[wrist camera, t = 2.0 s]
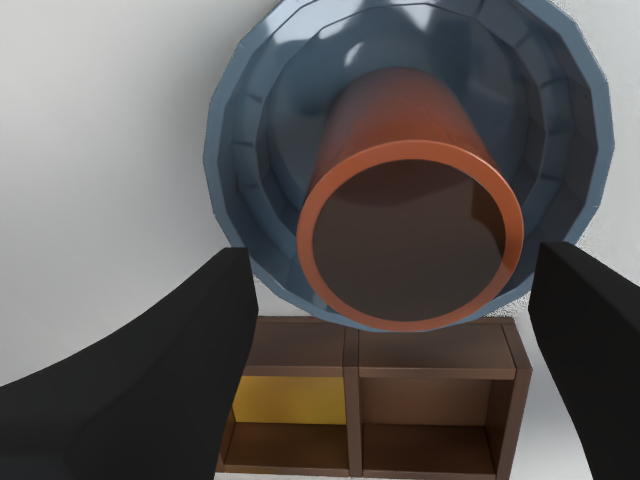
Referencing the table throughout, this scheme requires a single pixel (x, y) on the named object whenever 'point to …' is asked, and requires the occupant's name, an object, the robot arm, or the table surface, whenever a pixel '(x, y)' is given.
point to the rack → (378, 401)
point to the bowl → (432, 57)
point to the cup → (406, 207)
